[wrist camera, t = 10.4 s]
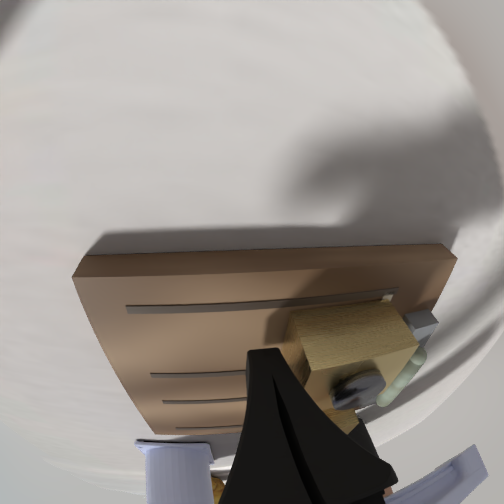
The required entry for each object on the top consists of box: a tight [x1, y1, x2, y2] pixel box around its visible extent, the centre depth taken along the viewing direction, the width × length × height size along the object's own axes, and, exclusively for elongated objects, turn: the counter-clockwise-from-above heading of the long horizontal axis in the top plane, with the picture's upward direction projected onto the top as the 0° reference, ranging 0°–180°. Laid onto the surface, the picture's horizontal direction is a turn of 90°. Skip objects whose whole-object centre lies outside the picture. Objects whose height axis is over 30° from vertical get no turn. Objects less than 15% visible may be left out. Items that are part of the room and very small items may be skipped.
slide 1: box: [281, 299, 420, 410], centre depth 11 cm, size 4×5×4 cm
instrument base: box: [72, 244, 458, 435], centre depth 14 cm, size 16×18×4 cm
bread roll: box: [211, 477, 225, 504], centre depth 32 cm, size 13×10×8 cm
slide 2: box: [322, 408, 359, 435], centre depth 15 cm, size 4×5×4 cm
